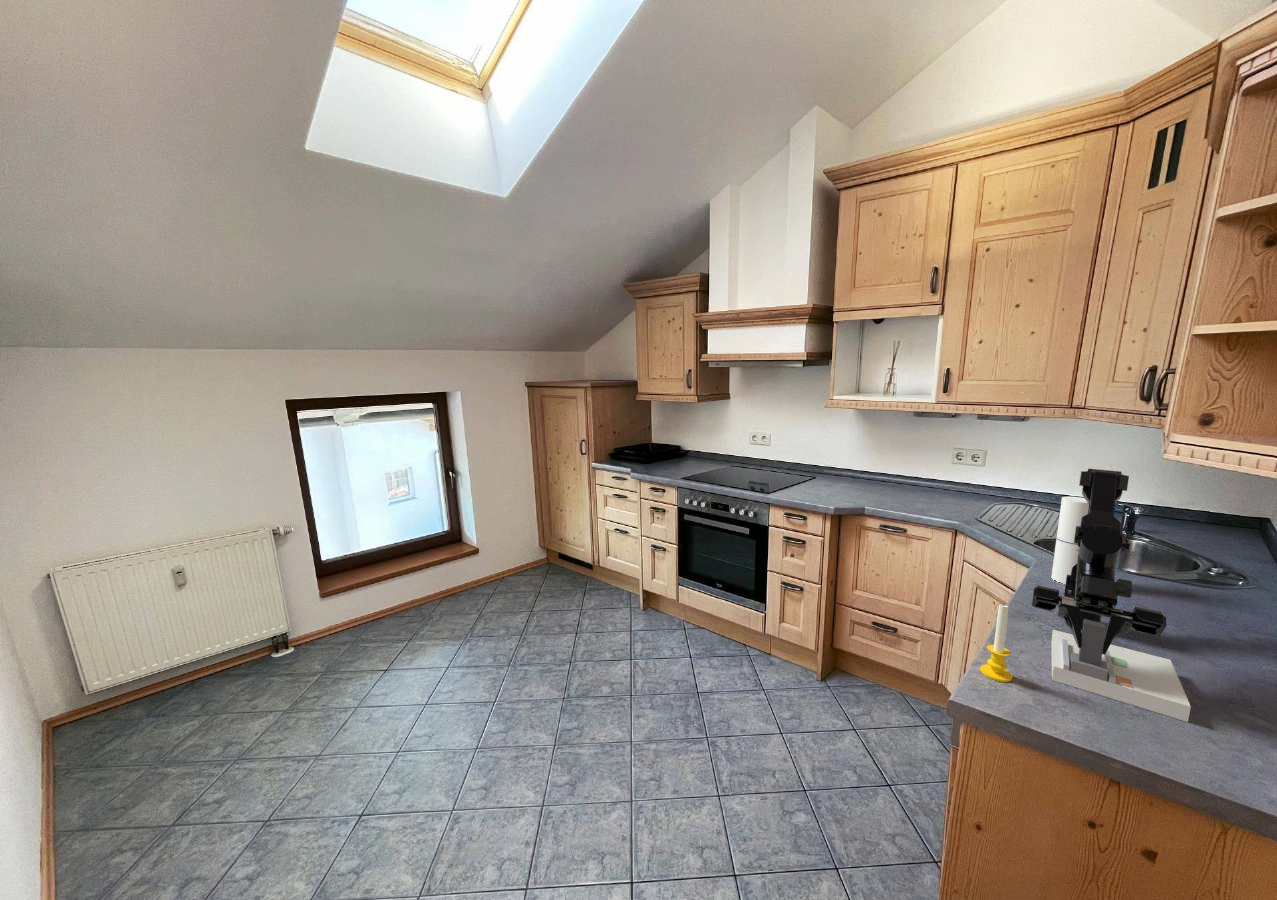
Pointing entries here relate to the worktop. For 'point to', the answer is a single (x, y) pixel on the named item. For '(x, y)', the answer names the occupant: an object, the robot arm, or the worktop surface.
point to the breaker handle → (1091, 651)
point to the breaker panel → (1125, 677)
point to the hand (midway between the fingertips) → (1091, 650)
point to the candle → (998, 650)
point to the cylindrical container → (1068, 536)
